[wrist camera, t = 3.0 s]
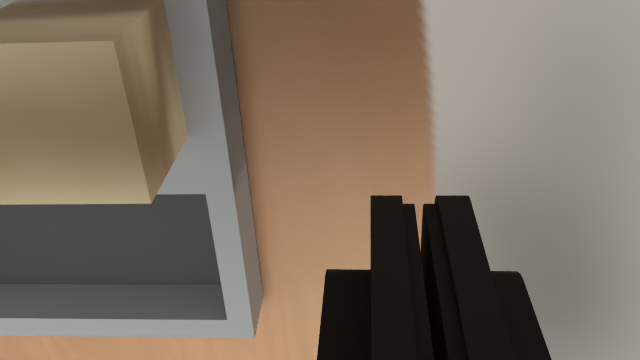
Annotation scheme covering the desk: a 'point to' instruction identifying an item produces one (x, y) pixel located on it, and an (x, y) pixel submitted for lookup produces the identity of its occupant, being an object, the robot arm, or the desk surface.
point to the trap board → (150, 225)
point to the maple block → (87, 102)
